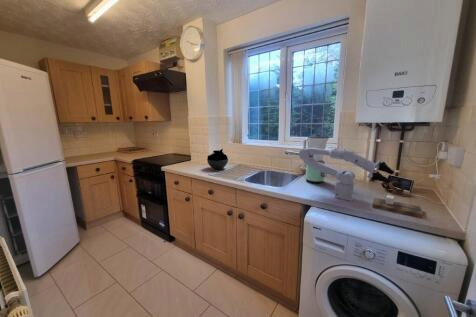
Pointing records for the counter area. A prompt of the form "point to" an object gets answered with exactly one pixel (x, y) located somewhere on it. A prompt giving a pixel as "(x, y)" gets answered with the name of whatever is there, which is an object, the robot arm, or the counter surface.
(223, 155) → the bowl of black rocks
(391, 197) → the fader
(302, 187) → the counter surface
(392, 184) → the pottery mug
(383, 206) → the brown flat slab
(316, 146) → the green blender
